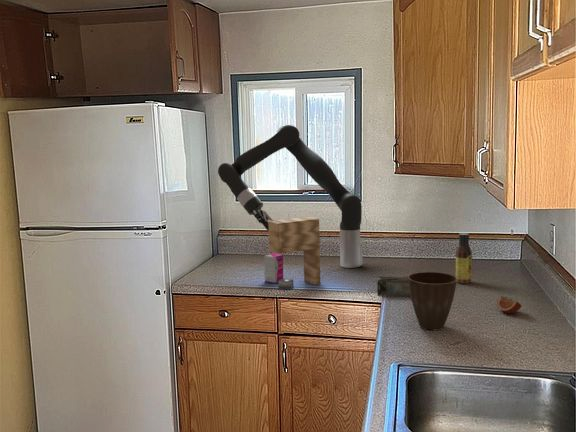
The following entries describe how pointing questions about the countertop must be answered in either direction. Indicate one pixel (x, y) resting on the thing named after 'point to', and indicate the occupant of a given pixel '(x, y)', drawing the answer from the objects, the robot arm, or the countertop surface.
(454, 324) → the countertop surface
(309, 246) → the wooden l-shaped block
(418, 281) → the plant pot
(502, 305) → the fruit slice
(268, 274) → the supplement box
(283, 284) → the dark gray cylinder
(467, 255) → the sauce bottle
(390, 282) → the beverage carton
